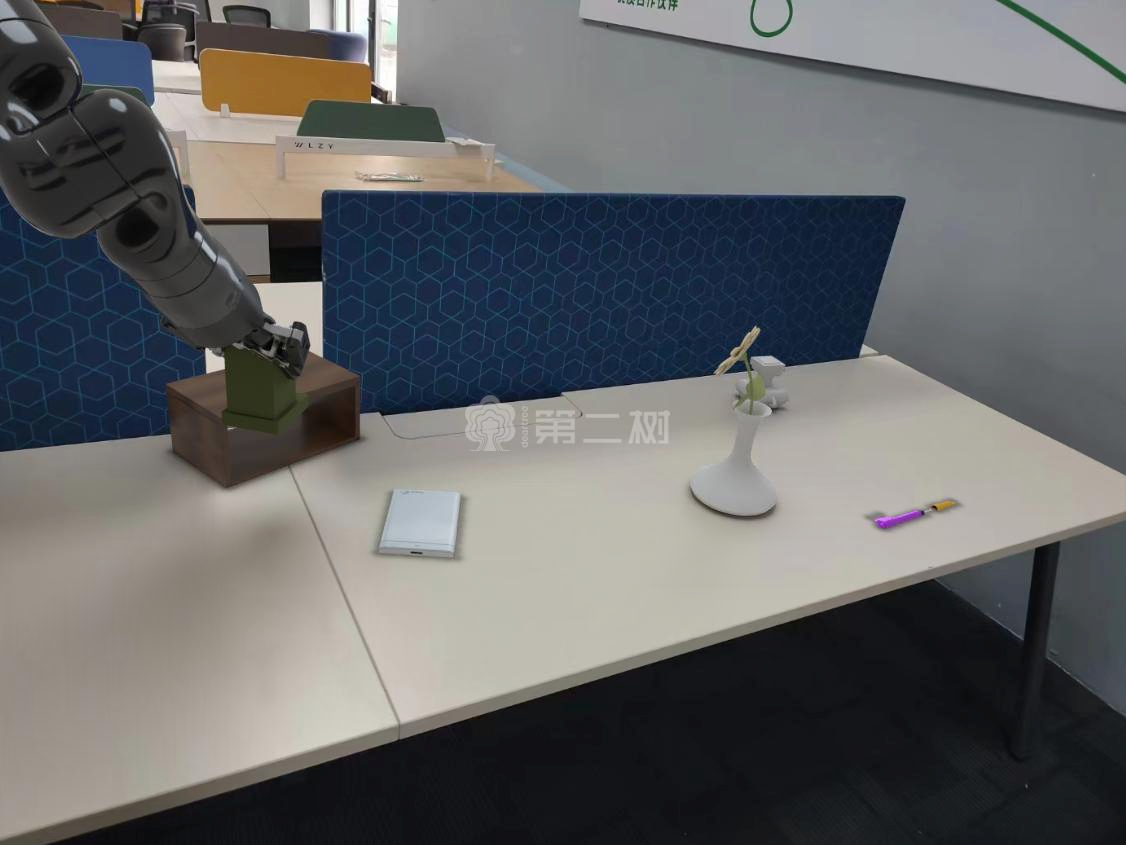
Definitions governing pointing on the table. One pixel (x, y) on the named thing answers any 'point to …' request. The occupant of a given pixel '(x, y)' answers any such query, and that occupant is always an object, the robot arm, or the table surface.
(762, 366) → the stamp
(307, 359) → the brown wooden cubby
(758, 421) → the flower in vase
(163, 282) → the robot arm
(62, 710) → the table surface
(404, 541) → the hard drive
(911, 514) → the purple and yellow rod
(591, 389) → the table surface
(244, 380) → the green pedestal block
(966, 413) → the table surface
